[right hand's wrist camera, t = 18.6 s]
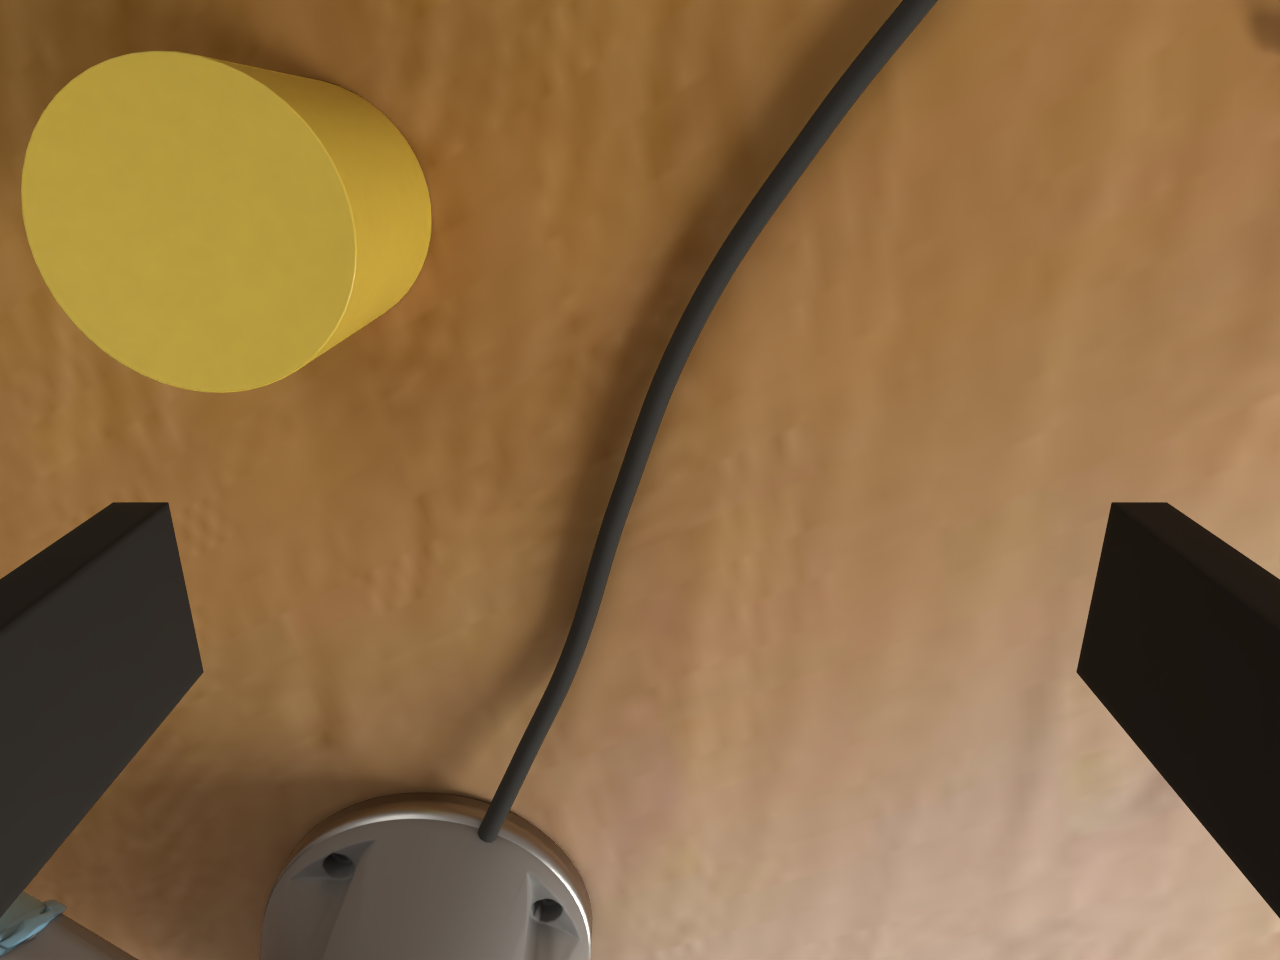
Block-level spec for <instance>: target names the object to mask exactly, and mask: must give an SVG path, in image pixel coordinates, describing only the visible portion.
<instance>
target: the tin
mask: <svg viewBox="0 0 1280 960" xmlns="http://www.w3.org/2000/svg"><path fill="white" fill-rule="evenodd" d="M21 202H22V214H23V220H24V225H25V230H26V235H27V239H28V242H29V245H30V248H31V251H32V254H33V257H34V260H35V262H36V265H37V267H38V269H39V271H40V273H41V275H42V277H43V280H44V282H45V283H46V285H47V287H48V288H49V290H50V292H51V293H52V295H53V297H54V298H55V300H56V301H57V303H58V304H59V305H60V307H61V308H62V309H63V311H64V312H65V313H66V315H67V316H68V317H69V318H70V320H71V321H72V322H73V323H74V324H75V325H76V326H77V327H78V328H79V329H80V330H81V331H82V332H83V334H84V335H85V336H86V337H87V338H89V339H90V340H91V341H92V342H93V343H94V344H96V345H97V346H98V347H99V348H100V349H101V350H103V351H104V352H105V353H107V354H108V355H110V356H111V357H113V358H114V359H115V360H117V361H118V362H120V363H121V364H123V365H125V366H126V367H128V368H130V369H132V370H134V371H136V372H138V373H139V374H141V375H143V376H146V377H148V378H151V379H153V380H156V381H158V382H161V383H164V384H167V385H171V386H174V387H178V388H182V389H187V390H193V391H200V392H215V393H227V392H237V391H246V390H250V389H254V388H258V387H263V386H265V385H268V384H271V383H273V382H276V381H278V380H281V379H283V378H284V377H286V376H288V375H290V374H292V373H293V372H295V371H297V370H298V369H300V368H302V367H303V366H305V365H306V364H308V363H309V362H311V361H312V360H314V359H315V358H317V357H318V356H320V355H321V354H323V353H324V352H326V351H327V350H329V349H330V348H332V347H333V346H335V345H336V344H338V343H340V342H341V341H343V340H344V339H346V338H347V337H349V336H350V335H352V334H353V333H355V332H356V331H358V330H359V329H361V328H362V327H364V326H365V325H367V324H368V323H370V322H371V321H373V320H374V319H376V318H378V317H379V316H381V315H382V314H384V313H385V312H386V311H388V310H389V309H390V308H392V307H393V306H394V305H395V304H397V303H398V302H399V300H400V299H401V298H402V297H403V296H404V295H405V294H406V293H407V292H408V290H409V289H410V288H411V286H412V285H413V283H414V282H415V280H416V279H417V277H418V275H419V273H420V271H421V269H422V267H423V264H424V261H425V258H426V255H427V252H428V247H429V243H430V238H431V225H432V218H431V204H430V198H429V192H428V188H427V184H426V181H425V178H424V174H423V172H422V169H421V167H420V165H419V163H418V160H417V158H416V156H415V154H414V153H413V151H412V149H411V147H410V146H409V144H408V142H407V141H406V140H405V138H404V137H403V136H402V134H401V133H400V132H399V130H398V129H397V128H396V127H395V126H394V124H393V123H392V122H391V121H390V120H389V119H388V118H387V117H386V116H385V115H384V114H383V113H381V112H380V111H379V110H378V109H377V108H375V107H374V106H373V105H372V104H370V103H369V102H367V101H366V100H364V99H363V98H361V97H359V96H358V95H356V94H355V93H352V92H350V91H348V90H346V89H344V88H342V87H340V86H337V85H333V84H330V83H327V82H324V81H320V80H315V79H310V78H306V77H301V76H296V75H291V74H286V73H282V72H277V71H272V70H267V69H263V68H258V67H253V66H248V65H243V64H239V63H234V62H229V61H224V60H219V59H215V58H210V57H205V56H200V55H195V54H189V53H183V52H178V51H145V52H136V53H129V54H126V55H122V56H118V57H114V58H111V59H108V60H106V61H104V62H101V63H99V64H97V65H95V66H93V67H90V68H89V69H87V70H86V71H84V72H83V73H81V74H80V75H78V76H77V77H75V78H74V79H72V80H71V81H70V82H69V83H68V84H67V85H66V86H65V87H64V88H63V89H62V90H60V91H59V92H58V93H57V94H56V95H55V97H54V98H53V99H52V101H51V102H50V103H49V105H48V106H47V107H46V109H45V110H44V111H43V113H42V115H41V117H40V119H39V120H38V122H37V124H36V126H35V128H34V130H33V132H32V135H31V138H30V141H29V144H28V147H27V149H26V154H25V159H24V164H23V169H22V182H21Z"/></svg>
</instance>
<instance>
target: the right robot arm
mask: <svg viewBox="0 0 1280 960" xmlns="http://www.w3.org/2000/svg"><path fill="white" fill-rule="evenodd" d="M937 1H938V0H903V1H902V2H901V3H900V5H899V6H898V7H897V8H896V10H895V11H894V12H893V13H892V15H891V16H890V17H889V18H888V19H887V21H886V22H885V23H884V24H883V26H882V27H881V28H880V29H879V30H878V32H877V33H876V34H875V35H874V37H873V38H872V39H871V40H870V42H869V43H868V44H867V45H866V46H865V48H864V49H863V50H862V51H861V53H860V54H859V55H858V56H857V58H856V59H855V60H854V62H853V63H852V64H851V65H850V67H849V68H848V69H847V70H846V72H845V73H844V74H843V76H842V77H841V78H840V79H839V81H838V82H837V83H836V85H835V86H834V87H833V89H832V90H831V91H830V93H829V94H828V95H827V97H826V98H825V99H824V101H823V102H822V103H821V105H820V106H819V107H818V109H817V110H816V112H815V113H814V114H813V116H812V117H811V119H810V120H809V121H808V123H807V124H806V126H805V127H804V128H803V130H802V131H801V133H800V134H799V135H798V137H797V138H796V140H795V141H794V142H793V144H792V145H791V147H790V148H789V149H788V151H787V152H786V154H785V155H784V156H783V158H782V159H781V160H780V162H779V163H778V165H777V166H776V167H775V169H774V170H773V172H772V173H771V174H770V176H769V177H768V179H767V180H766V181H765V183H764V184H763V186H762V187H761V188H760V190H759V191H758V193H757V194H756V196H755V197H754V198H753V200H752V201H751V203H750V204H749V206H748V207H747V209H746V210H745V211H744V213H743V214H742V216H741V217H740V219H739V220H738V222H737V223H736V225H735V226H734V228H733V229H732V231H731V232H730V234H729V235H728V237H727V239H726V240H725V242H724V243H723V245H722V246H721V248H720V250H719V251H718V253H717V255H716V256H715V258H714V259H713V261H712V263H711V264H710V266H709V268H708V270H707V271H706V273H705V275H704V276H703V278H702V280H701V282H700V283H699V285H698V287H697V289H696V291H695V292H694V294H693V296H692V298H691V300H690V302H689V304H688V306H687V307H686V309H685V311H684V313H683V315H682V317H681V319H680V321H679V323H678V325H677V327H676V329H675V331H674V333H673V335H672V337H671V339H670V341H669V344H668V346H667V348H666V350H665V352H664V354H663V357H662V359H661V361H660V363H659V366H658V368H657V370H656V373H655V375H654V378H653V380H652V382H651V385H650V387H649V390H648V393H647V395H646V398H645V400H644V403H643V406H642V408H641V411H640V414H639V417H638V420H637V422H636V425H635V428H634V431H633V434H632V437H631V440H630V443H629V446H628V449H627V451H626V454H625V457H624V460H623V463H622V466H621V469H620V472H619V475H618V478H617V481H616V484H615V486H614V489H613V492H612V495H611V498H610V501H609V504H608V507H607V510H606V512H605V515H604V519H603V522H602V525H601V528H600V531H599V534H598V538H597V541H596V544H595V548H594V551H593V555H592V558H591V562H590V565H589V569H588V572H587V576H586V580H585V583H584V587H583V590H582V594H581V597H580V601H579V604H578V607H577V610H576V614H575V617H574V620H573V623H572V626H571V629H570V632H569V635H568V637H567V640H566V643H565V646H564V648H563V651H562V653H561V656H560V659H559V661H558V664H557V666H556V668H555V671H554V673H553V675H552V678H551V680H550V682H549V684H548V686H547V689H546V691H545V693H544V695H543V697H542V699H541V701H540V703H539V705H538V707H537V709H536V711H535V713H534V715H533V717H532V719H531V721H530V723H529V725H528V727H527V729H526V731H525V733H524V735H523V737H522V739H521V741H520V743H519V745H518V747H517V749H516V752H515V754H514V756H513V758H512V760H511V762H510V764H509V766H508V768H507V770H506V773H505V775H504V777H503V779H502V781H501V783H500V785H499V787H498V789H497V791H496V794H495V796H494V798H493V800H492V802H491V804H488V803H485V802H482V801H478V800H474V799H470V798H466V797H461V796H455V795H448V794H439V793H405V794H396V795H389V796H383V797H379V798H375V799H370V800H367V801H364V802H361V803H358V804H355V805H353V806H350V807H348V808H346V809H343V810H341V811H339V812H337V813H336V814H334V815H332V816H330V817H328V818H327V819H326V820H324V821H323V822H321V823H320V824H318V825H317V826H316V827H315V828H313V829H312V830H311V831H310V832H309V833H308V834H307V835H306V836H305V837H304V838H303V839H302V840H301V841H300V842H299V843H298V845H297V846H296V847H295V849H294V850H293V851H292V853H291V854H290V856H289V858H288V860H287V862H286V863H285V865H284V867H283V869H282V871H281V873H280V875H279V878H278V880H277V882H276V884H275V886H274V888H273V890H272V892H271V895H270V897H269V900H268V902H267V906H266V911H265V916H264V921H263V927H262V935H261V946H260V958H259V960H590V953H591V936H592V912H591V904H590V900H589V896H588V893H587V890H586V887H585V885H584V882H583V880H582V878H581V876H580V874H579V872H578V871H577V869H576V868H575V866H574V865H573V863H572V862H571V860H570V859H569V858H568V856H567V855H566V854H565V853H564V852H563V850H562V849H561V848H560V847H559V846H558V845H557V844H556V843H555V842H554V841H553V840H552V839H550V838H549V837H548V836H547V835H546V834H544V833H543V832H542V831H541V830H539V829H538V828H536V827H535V826H533V825H532V824H530V823H529V822H527V821H526V820H524V819H522V818H520V817H518V816H516V815H515V814H513V813H510V812H509V810H510V808H511V806H512V804H513V802H514V800H515V798H516V796H517V794H518V792H519V790H520V788H521V786H522V784H523V781H524V779H525V777H526V775H527V773H528V771H529V769H530V767H531V765H532V763H533V761H534V759H535V757H536V754H537V752H538V750H539V748H540V746H541V744H542V742H543V740H544V738H545V736H546V734H547V732H548V730H549V728H550V726H551V725H552V723H553V721H554V719H555V717H556V715H557V713H558V711H559V709H560V707H561V704H562V702H563V700H564V698H565V696H566V694H567V692H568V690H569V687H570V685H571V683H572V681H573V678H574V676H575V674H576V671H577V669H578V666H579V664H580V661H581V659H582V656H583V653H584V651H585V648H586V645H587V643H588V640H589V637H590V634H591V631H592V628H593V625H594V622H595V619H596V616H597V613H598V610H599V606H600V603H601V600H602V596H603V593H604V589H605V586H606V583H607V579H608V576H609V572H610V569H611V565H612V562H613V559H614V555H615V552H616V549H617V546H618V542H619V539H620V536H621V533H622V530H623V527H624V524H625V521H626V518H627V516H628V513H629V510H630V507H631V504H632V502H633V499H634V496H635V493H636V490H637V488H638V485H639V482H640V479H641V476H642V473H643V471H644V468H645V465H646V462H647V459H648V456H649V453H650V451H651V448H652V445H653V442H654V439H655V437H656V434H657V431H658V428H659V426H660V423H661V420H662V417H663V415H664V412H665V410H666V407H667V404H668V402H669V399H670V397H671V395H672V392H673V390H674V387H675V385H676V383H677V380H678V378H679V376H680V373H681V371H682V369H683V367H684V365H685V363H686V360H687V358H688V356H689V354H690V352H691V350H692V348H693V346H694V344H695V342H696V340H697V338H698V336H699V334H700V332H701V330H702V328H703V326H704V324H705V323H706V321H707V319H708V317H709V315H710V313H711V311H712V310H713V308H714V306H715V304H716V302H717V301H718V299H719V297H720V295H721V294H722V292H723V290H724V288H725V287H726V285H727V283H728V282H729V280H730V278H731V277H732V275H733V273H734V272H735V270H736V269H737V267H738V265H739V264H740V262H741V261H742V259H743V258H744V256H745V254H746V253H747V251H748V250H749V248H750V247H751V245H752V244H753V242H754V241H755V239H756V238H757V236H758V235H759V233H760V232H761V231H762V229H763V228H764V226H765V225H766V223H767V222H768V220H769V219H770V218H771V216H772V215H773V213H774V212H775V211H776V209H777V208H778V206H779V205H780V204H781V202H782V201H783V199H784V198H785V197H786V195H787V194H788V193H789V191H790V190H791V188H792V187H793V186H794V184H795V183H796V182H797V180H798V179H799V177H800V176H801V175H802V173H803V172H804V171H805V169H806V168H807V166H808V165H809V164H810V162H811V161H812V160H813V158H814V157H815V155H816V154H817V153H818V151H819V150H820V149H821V147H822V146H823V144H824V143H825V142H826V140H827V139H828V138H829V136H830V135H831V133H832V132H833V131H834V129H835V128H836V127H837V125H838V124H839V123H840V121H841V120H842V118H843V117H844V116H845V115H846V113H847V112H848V111H849V109H850V108H851V107H852V105H853V104H854V103H855V101H856V100H857V99H858V98H859V96H860V95H861V94H862V92H863V91H864V90H865V89H866V87H867V86H868V85H869V84H870V82H871V81H872V80H873V79H874V77H875V76H876V75H877V74H878V72H879V71H880V70H881V69H882V67H883V66H884V65H885V64H886V63H887V61H888V60H889V59H890V58H891V56H892V55H893V54H894V53H895V52H896V50H897V49H898V48H899V47H900V46H901V44H902V43H903V42H904V41H905V40H906V38H907V37H908V36H909V35H910V33H911V32H912V31H913V30H914V29H915V27H916V26H917V25H918V24H919V23H920V21H921V20H922V19H923V18H924V16H925V15H926V14H927V13H928V12H929V10H930V9H931V8H932V7H933V5H934V4H935V3H936V2H937ZM202 673H203V668H202V663H201V658H200V653H199V648H198V644H197V639H196V634H195V629H194V624H193V619H192V615H191V610H190V605H189V600H188V595H187V591H186V586H185V581H184V576H183V571H182V566H181V562H180V557H179V552H178V547H177V542H176V538H175V533H174V528H173V523H172V518H171V513H170V509H169V504H168V503H112V504H110V505H109V506H107V507H106V508H104V509H103V510H101V511H100V512H99V513H97V514H96V515H94V516H93V517H91V518H90V519H88V520H87V521H85V522H84V523H82V524H81V525H79V526H78V527H77V528H75V529H74V530H72V531H71V532H69V533H68V534H66V535H65V536H63V537H62V538H60V539H59V540H57V541H56V542H55V543H53V544H52V545H50V546H49V547H47V548H46V549H44V550H43V551H41V552H40V553H38V554H37V555H35V556H34V557H33V558H31V559H30V560H28V561H27V562H25V563H24V564H22V565H21V566H19V567H18V568H16V569H15V570H14V571H12V572H11V573H9V574H8V575H6V576H5V577H3V578H2V579H0V960H138V959H136V958H135V957H133V956H131V955H130V954H128V953H126V952H125V951H123V950H121V949H120V948H118V947H116V946H115V945H113V944H111V943H110V942H108V941H106V940H105V939H103V938H102V937H100V936H98V935H97V934H95V933H93V932H92V931H90V930H88V929H87V928H85V927H83V926H82V925H80V924H78V923H77V922H75V921H73V920H72V919H70V918H68V917H67V916H65V915H63V914H62V913H63V912H64V911H65V909H66V906H64V905H63V904H61V903H59V902H58V901H56V900H49V901H45V902H42V901H40V900H38V899H36V898H34V897H32V896H31V895H29V894H27V893H25V892H23V890H24V889H25V888H26V886H27V885H28V884H29V883H30V882H31V880H32V879H33V878H34V877H35V876H36V874H37V873H38V872H39V871H40V869H41V868H42V867H43V866H44V865H45V863H46V862H47V861H48V860H49V859H50V857H51V856H52V855H53V854H54V853H55V851H56V850H57V849H58V848H59V846H60V845H61V844H62V843H63V842H64V840H65V839H66V838H67V837H68V836H69V834H70V833H71V832H72V831H73V830H74V828H75V827H76V826H77V825H78V823H79V822H80V821H81V820H82V819H83V817H84V816H85V815H86V814H87V813H88V811H89V810H90V809H91V808H92V807H93V805H94V804H95V803H96V802H97V800H98V799H99V798H100V797H101V796H102V794H103V793H104V792H105V791H106V790H107V788H108V787H109V786H110V785H111V783H112V782H113V781H114V780H115V779H116V777H117V776H118V775H119V774H120V773H121V771H122V770H123V769H124V768H125V767H126V765H127V764H128V763H129V762H130V760H131V759H132V758H133V757H134V756H135V754H136V753H137V752H138V751H139V750H140V748H141V747H142V746H143V745H144V744H145V742H146V741H147V740H148V739H149V737H150V736H151V735H152V734H153V733H154V731H155V730H156V729H157V728H158V727H159V725H160V724H161V723H162V722H163V721H164V719H165V718H166V717H167V716H168V714H169V713H170V712H171V711H172V710H173V708H174V707H175V706H176V705H177V704H178V702H179V701H180V700H181V699H182V697H183V696H184V695H185V694H186V693H187V691H188V690H189V689H190V688H191V687H192V685H193V684H194V683H195V682H196V681H197V679H198V678H199V677H200V676H201V674H202ZM1077 673H1078V674H1079V676H1080V677H1081V678H1082V679H1083V681H1084V682H1085V683H1086V684H1087V685H1088V687H1089V688H1090V689H1091V690H1092V691H1093V693H1094V694H1095V695H1096V696H1097V697H1098V699H1099V700H1100V701H1101V702H1102V704H1103V705H1104V706H1105V707H1106V708H1107V710H1108V711H1109V712H1110V713H1111V714H1112V716H1113V717H1114V718H1115V719H1116V721H1117V722H1118V723H1119V724H1120V725H1121V727H1122V728H1123V729H1124V730H1125V731H1126V733H1127V734H1128V735H1129V736H1130V737H1131V739H1132V740H1133V741H1134V742H1135V744H1136V745H1137V746H1138V747H1139V748H1140V750H1141V751H1142V752H1143V753H1144V754H1145V756H1146V757H1147V758H1148V759H1149V760H1150V762H1151V763H1152V764H1153V765H1154V767H1155V768H1156V769H1157V770H1158V771H1159V773H1160V774H1161V775H1162V776H1163V777H1164V779H1165V780H1166V781H1167V782H1168V783H1169V785H1170V786H1171V787H1172V788H1173V790H1174V791H1175V792H1176V793H1177V794H1178V796H1179V797H1180V798H1181V799H1182V800H1183V802H1184V803H1185V804H1186V805H1187V807H1188V808H1189V809H1190V810H1191V811H1192V813H1193V814H1194V815H1195V816H1196V817H1197V819H1198V820H1199V821H1200V822H1201V823H1202V825H1203V826H1204V827H1205V828H1206V830H1207V831H1208V832H1209V833H1210V834H1211V836H1212V837H1213V838H1214V839H1215V840H1216V842H1217V843H1218V844H1219V845H1220V846H1221V848H1222V849H1223V850H1224V851H1225V853H1226V854H1227V855H1228V856H1229V857H1230V859H1231V860H1232V861H1233V862H1234V863H1235V865H1236V866H1237V867H1238V868H1239V869H1240V871H1241V872H1242V873H1243V874H1244V876H1245V877H1246V878H1247V879H1248V880H1249V882H1250V883H1251V884H1252V885H1253V886H1254V888H1255V889H1256V890H1257V891H1258V893H1259V894H1260V895H1261V896H1262V897H1263V899H1264V900H1265V901H1266V902H1267V903H1268V905H1269V906H1270V907H1271V908H1272V909H1273V911H1274V912H1275V913H1276V914H1277V916H1278V917H1279V918H1280V579H1278V578H1277V577H1275V576H1274V575H1272V574H1271V573H1269V572H1268V571H1266V570H1265V569H1264V568H1262V567H1261V566H1259V565H1258V564H1256V563H1255V562H1253V561H1252V560H1250V559H1249V558H1247V557H1246V556H1244V555H1243V554H1242V553H1240V552H1239V551H1237V550H1236V549H1234V548H1233V547H1231V546H1230V545H1228V544H1227V543H1225V542H1224V541H1222V540H1221V539H1220V538H1218V537H1217V536H1215V535H1214V534H1212V533H1211V532H1209V531H1208V530H1206V529H1205V528H1203V527H1202V526H1201V525H1199V524H1198V523H1196V522H1195V521H1193V520H1192V519H1190V518H1189V517H1187V516H1186V515H1184V514H1183V513H1181V512H1180V511H1179V510H1177V509H1176V508H1174V507H1173V506H1171V505H1170V504H1168V503H1112V504H1111V509H1110V513H1109V518H1108V523H1107V528H1106V533H1105V537H1104V542H1103V547H1102V552H1101V557H1100V562H1099V566H1098V571H1097V576H1096V581H1095V586H1094V591H1093V595H1092V600H1091V605H1090V610H1089V615H1088V619H1087V624H1086V629H1085V634H1084V639H1083V644H1082V648H1081V653H1080V658H1079V663H1078V668H1077Z"/></svg>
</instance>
